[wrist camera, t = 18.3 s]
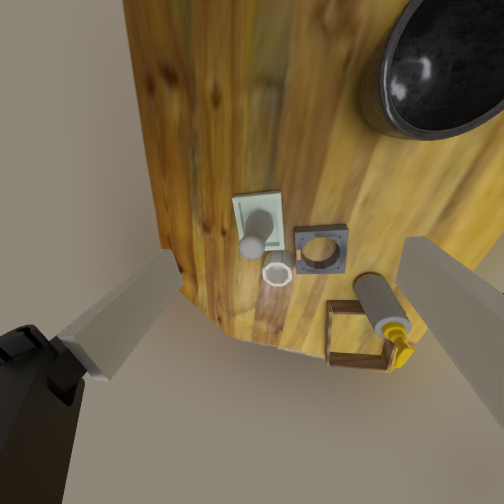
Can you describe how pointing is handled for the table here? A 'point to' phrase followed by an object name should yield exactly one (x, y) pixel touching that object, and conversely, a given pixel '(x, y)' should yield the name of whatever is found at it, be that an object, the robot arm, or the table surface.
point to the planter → (436, 70)
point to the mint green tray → (268, 205)
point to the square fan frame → (329, 265)
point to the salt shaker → (255, 235)
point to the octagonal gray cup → (277, 268)
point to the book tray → (355, 359)
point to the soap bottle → (384, 313)
